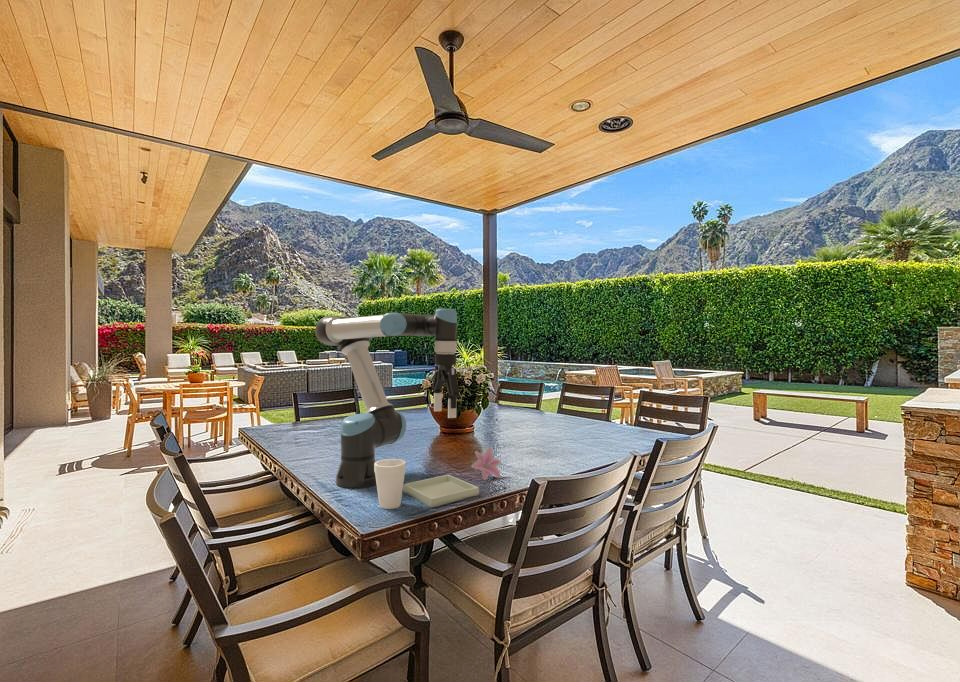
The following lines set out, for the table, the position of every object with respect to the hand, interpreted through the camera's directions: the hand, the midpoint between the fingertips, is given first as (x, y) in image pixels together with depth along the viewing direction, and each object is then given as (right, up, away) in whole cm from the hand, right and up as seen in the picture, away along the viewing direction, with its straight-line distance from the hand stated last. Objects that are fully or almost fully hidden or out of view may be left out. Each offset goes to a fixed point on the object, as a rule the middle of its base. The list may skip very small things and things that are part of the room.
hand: (444, 414), depth 160 cm
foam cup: (-15, -25, -19) cm, 35 cm away
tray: (-1, -25, -8) cm, 26 cm away
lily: (+15, -25, +10) cm, 31 cm away
